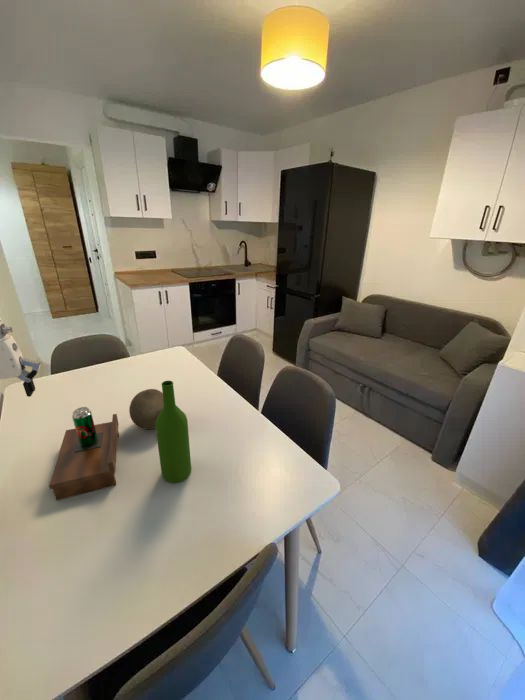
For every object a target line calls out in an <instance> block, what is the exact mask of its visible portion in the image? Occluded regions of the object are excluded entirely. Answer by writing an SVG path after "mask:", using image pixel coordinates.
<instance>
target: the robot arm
mask: <svg viewBox="0 0 525 700" xmlns="http://www.w3.org/2000/svg"><path fill="white" fill-rule="evenodd" d="M11 333H13V328H12V326H6V325H5V323H3V320H2V317H1V316H0V380H9V379H14V378H17V379H19V380H21V381H23V383H22V385H23V388H24V392H25V395H26V397H29V398H30V397H32V396H33V394H34V392H35V391H36V386H35V383H34V380H33V379H34V378H35V377H36V376H37V374H38V372H39V370H40V368H41V365H42V362H40V361H37V360H33V359H30V358H25V357H24V356H23V353H22V351H21V349H20V347H19V345H18V343H17V342H16V340H15V338H14V337H13V336H12V334H11ZM27 367H31V368H32V369H31V371H28V370H27Z"/></svg>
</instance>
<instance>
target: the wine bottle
mask: <svg viewBox="0 0 525 700" xmlns="http://www.w3.org/2000/svg"><path fill="white" fill-rule="evenodd" d="M161 390H162V391H161V392H162V393H163V402H164V407H163V409H162V411H161V412H160V414H159V415H158V417H157V419H156V424H155V428H154V429H155V435H156V441H157V449H158V455H159V456H158V457H159V463H160V470H161V476H162V479H163V480H164V482H167V483H170V484H177V483H178V484H179V483H181V482H184V481H185V480H187V479H188V477H189V476H190V475H191V472H192V461H191V460H192V459H191V449H190V437H189V436H190V435H189V425H188V424H189V423H188V422H189V421H188V418H187V415H186V413H185V412H184V411H183V410H182V409H180V408H179V406H177V404H176V396H175V388H174V382H173V381H172V380H164V381H162V382H161Z"/></svg>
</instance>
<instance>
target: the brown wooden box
mask: <svg viewBox="0 0 525 700" xmlns="http://www.w3.org/2000/svg"><path fill="white" fill-rule="evenodd" d="M111 419H112V420H111V421H109V422H103V423H98V424H94V425H95V429H96V434H97V441H96V442H95V443H94V444H92V445H90V446H82V445H80V443H79V440H78V436H77V432H76V429H75V428H70V429H66V430H65V432H64V436H63V439H62V442H61V445H60V448H59V451H58V455H57V459H56V461H55V464H54V466H53V467H54V468H53V470H52V474H51V477H50V480H49V483H48V487H49V490H52V492H53V495H54V498H55V501H60V500H64V499H68V498H72V497H75V496H79V495H85V494H87V493H91V492H95V491H100V490H102V489H107V488H110V487H114V486H117V480H116V475H115V474H116V465H117V454H118V453H117V451H118V438H119V437H120V431H119V425H120V424H119V418H118V414H117V413H113V414H112V418H111Z"/></svg>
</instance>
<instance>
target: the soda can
mask: <svg viewBox="0 0 525 700" xmlns="http://www.w3.org/2000/svg"><path fill="white" fill-rule="evenodd" d="M71 419H72V421H73V425H74V429H76V432H77V436H78V440H79V443H80V445H82V446H90V445H92V444H94V443H95V442H96V441H97V434H96V429H95V425H96V424H95V421H94V418H93V413H92V410H90V408H89V407H87V406H81V407H78V408H76V409H74V410H73V411H72V415H71Z"/></svg>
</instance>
